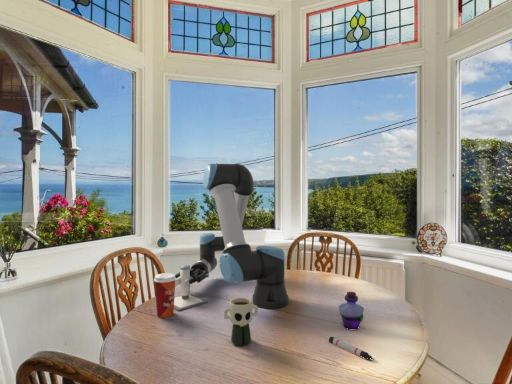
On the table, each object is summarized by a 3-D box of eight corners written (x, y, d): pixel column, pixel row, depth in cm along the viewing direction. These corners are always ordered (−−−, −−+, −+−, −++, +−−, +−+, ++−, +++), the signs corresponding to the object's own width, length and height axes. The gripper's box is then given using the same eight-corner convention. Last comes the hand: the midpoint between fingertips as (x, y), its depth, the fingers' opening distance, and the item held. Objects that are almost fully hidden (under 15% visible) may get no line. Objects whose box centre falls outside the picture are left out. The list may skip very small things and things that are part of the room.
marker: (328, 343, 106) (328, 337, 106) (332, 341, 107) (332, 335, 107) (372, 364, 94) (372, 357, 94) (376, 362, 95) (376, 355, 95)
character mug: (226, 350, 101) (226, 307, 101) (221, 339, 108) (221, 299, 108) (261, 345, 104) (260, 303, 104) (254, 335, 111) (254, 296, 111)
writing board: (207, 302, 141) (207, 300, 141) (178, 311, 132) (178, 309, 132) (189, 294, 151) (189, 292, 151) (160, 302, 142) (160, 300, 142)
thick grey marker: (192, 297, 144) (191, 266, 144) (183, 300, 141) (183, 268, 141) (186, 295, 147) (186, 264, 147) (178, 297, 144) (178, 266, 144)
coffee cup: (170, 319, 123) (170, 279, 123) (149, 318, 125) (149, 278, 125) (180, 311, 132) (179, 273, 131) (160, 309, 133) (160, 272, 133)
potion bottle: (365, 333, 112) (366, 297, 112) (339, 331, 114) (339, 295, 114) (362, 322, 121) (362, 289, 120) (337, 320, 122) (337, 288, 122)
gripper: (217, 278, 160) (199, 294, 137) (183, 276, 163) (160, 291, 141) (217, 262, 160) (199, 276, 137) (183, 260, 163) (160, 273, 140)
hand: (179, 284), depth 139 cm, fingers closed on thick grey marker, 4 cm apart
